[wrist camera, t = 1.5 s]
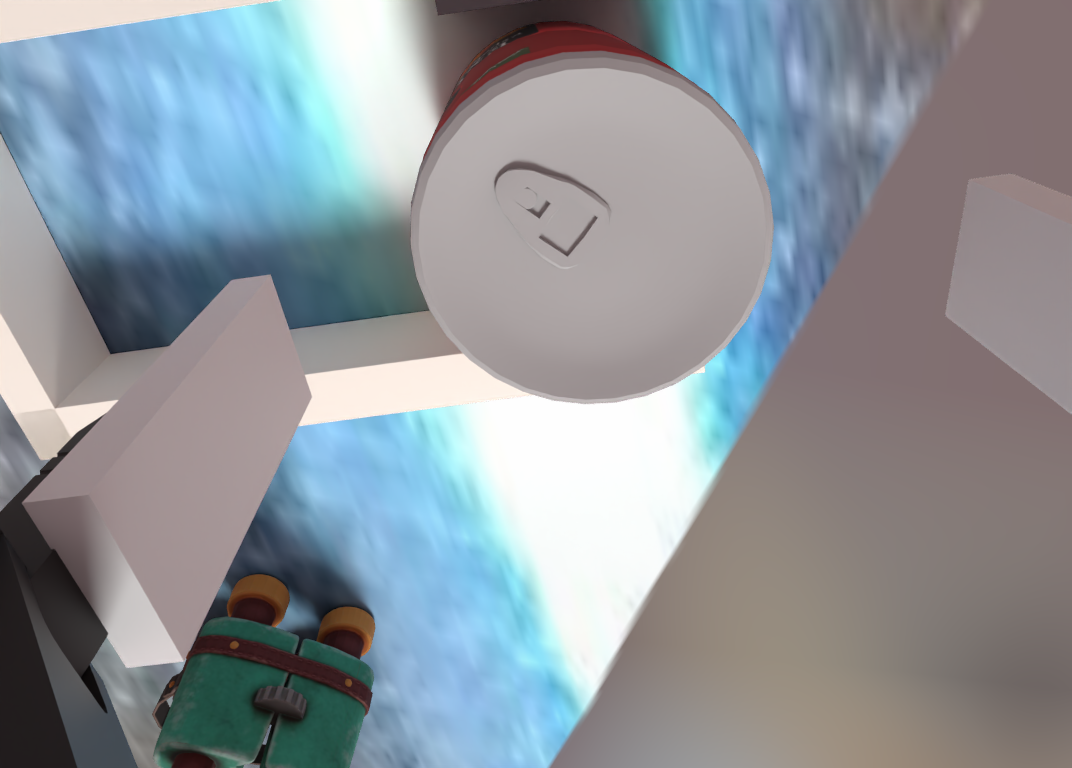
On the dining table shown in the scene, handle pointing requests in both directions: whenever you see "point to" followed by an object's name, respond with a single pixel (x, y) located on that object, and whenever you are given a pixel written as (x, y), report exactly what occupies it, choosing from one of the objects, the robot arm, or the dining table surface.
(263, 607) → the binoculars
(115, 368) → the white rectangular tray
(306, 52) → the dining table surface
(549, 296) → the canned food
